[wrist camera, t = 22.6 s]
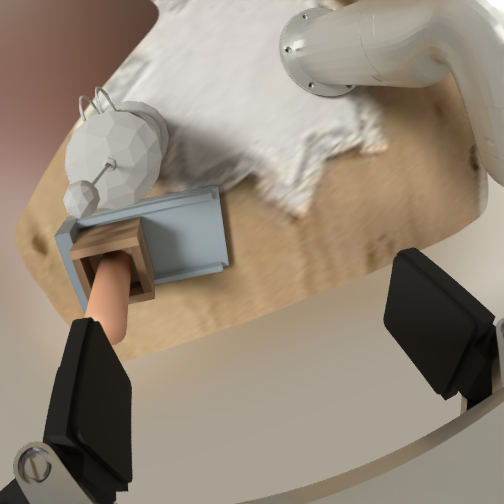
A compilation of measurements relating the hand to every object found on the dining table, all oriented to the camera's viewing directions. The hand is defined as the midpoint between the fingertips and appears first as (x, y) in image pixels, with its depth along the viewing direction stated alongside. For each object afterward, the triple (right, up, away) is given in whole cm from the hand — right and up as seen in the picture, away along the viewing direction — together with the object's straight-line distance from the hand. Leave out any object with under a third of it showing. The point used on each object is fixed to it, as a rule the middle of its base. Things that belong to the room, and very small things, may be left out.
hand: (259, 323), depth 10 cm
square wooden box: (-17, +2, +29) cm, 34 cm away
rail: (-14, +4, +32) cm, 35 cm away
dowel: (-16, +1, +27) cm, 31 cm away
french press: (-15, +16, +25) cm, 33 cm away
